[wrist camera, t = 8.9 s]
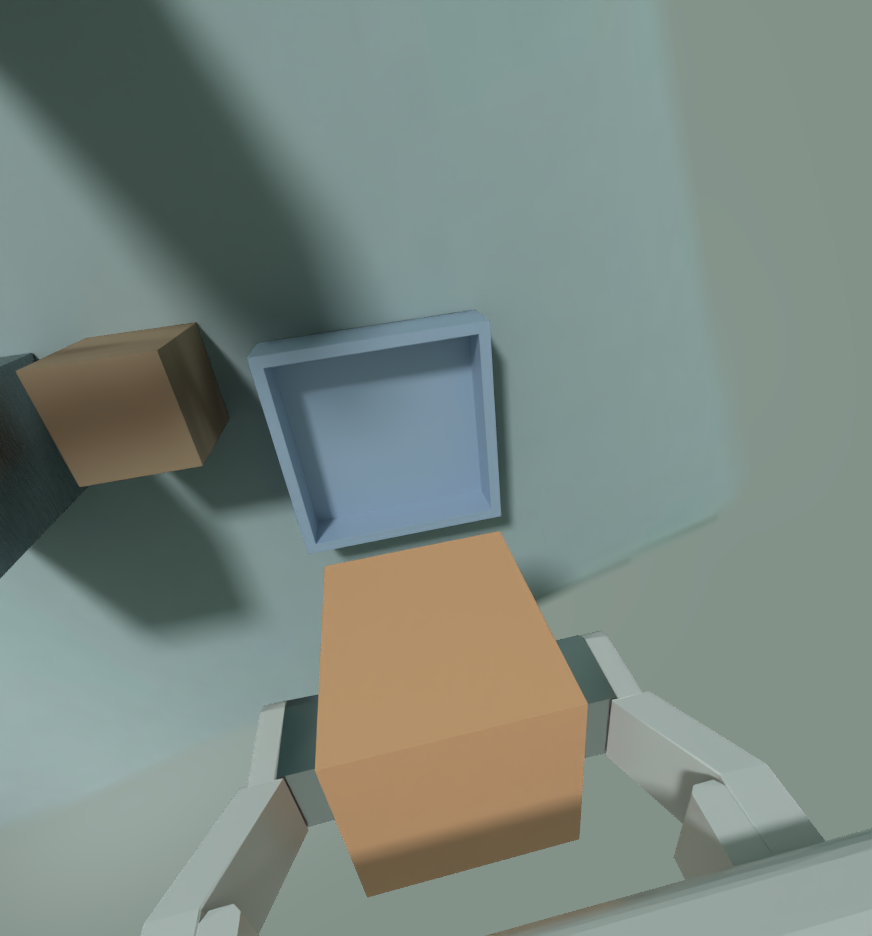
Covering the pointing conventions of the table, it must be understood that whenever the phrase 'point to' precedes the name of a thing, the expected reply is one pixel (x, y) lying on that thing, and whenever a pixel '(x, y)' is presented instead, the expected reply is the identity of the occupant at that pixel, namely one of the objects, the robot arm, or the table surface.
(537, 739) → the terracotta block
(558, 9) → the table surface
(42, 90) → the table surface
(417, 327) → the tray
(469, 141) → the table surface
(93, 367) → the walnut block
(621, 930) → the robot arm
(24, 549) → the box
